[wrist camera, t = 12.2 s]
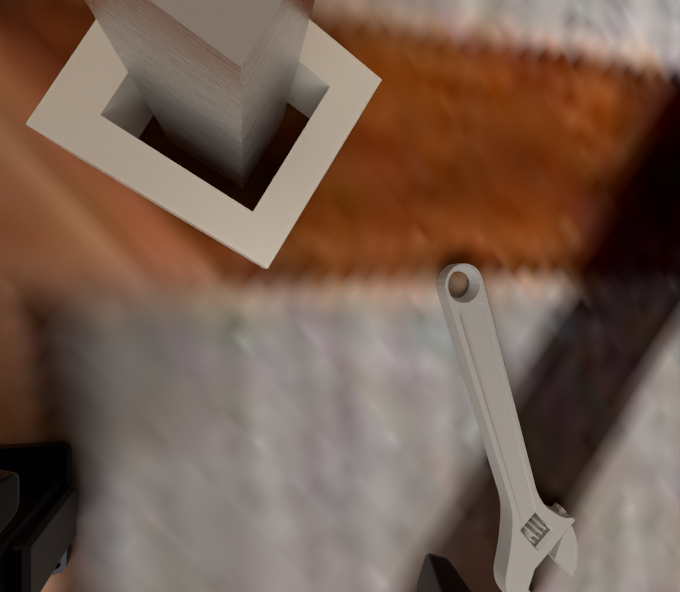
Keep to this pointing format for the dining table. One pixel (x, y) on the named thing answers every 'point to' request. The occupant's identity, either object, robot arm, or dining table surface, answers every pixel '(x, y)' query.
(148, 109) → the socket block
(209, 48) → the steel peg
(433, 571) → the robot arm
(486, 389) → the adjustable wrench
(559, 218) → the dining table surface
